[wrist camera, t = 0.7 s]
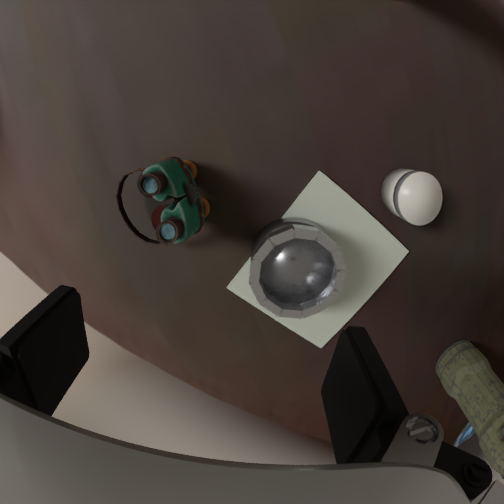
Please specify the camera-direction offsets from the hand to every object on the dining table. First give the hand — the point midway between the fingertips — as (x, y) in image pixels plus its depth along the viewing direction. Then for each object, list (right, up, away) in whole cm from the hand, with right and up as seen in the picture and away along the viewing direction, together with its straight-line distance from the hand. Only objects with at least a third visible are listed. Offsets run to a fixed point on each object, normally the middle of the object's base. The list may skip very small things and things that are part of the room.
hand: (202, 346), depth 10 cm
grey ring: (+6, +3, +27) cm, 28 cm away
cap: (+20, +11, +24) cm, 33 cm away
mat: (+10, +1, +28) cm, 29 cm away
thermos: (+38, -16, +33) cm, 53 cm away
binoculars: (-8, +10, +25) cm, 28 cm away
